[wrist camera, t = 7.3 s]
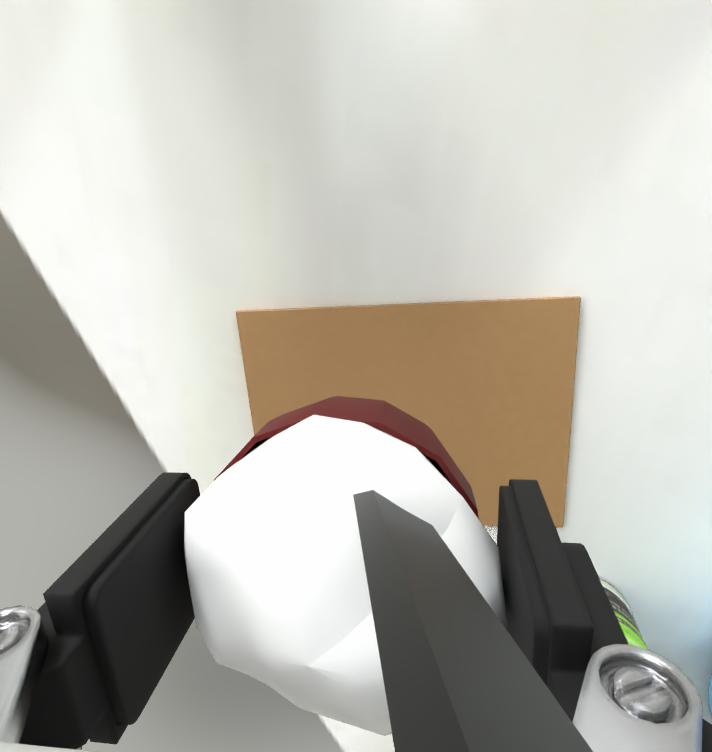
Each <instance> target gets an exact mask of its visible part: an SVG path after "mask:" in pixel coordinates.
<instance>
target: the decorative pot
mask: <svg viewBox="0 0 712 752" xmlns="http://www.w3.org/2000/svg"><path fill="white" fill-rule="evenodd" d="M708 705H709V710H710V714H711V718H712V675H711V678H710V684H709V694H708Z"/></svg>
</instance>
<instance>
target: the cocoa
mask: <svg viewBox="0 0 712 752" xmlns="http://www.w3.org/2000/svg"><path fill="white" fill-rule="evenodd" d="M184 554H185V561H186V568H187V575H188V581H189V587H190V593H191V598H192V604H193V610H194V615H195V621H196V627H197V629H198V631H199V632H200V634H201V636H202V638H203V639H204V641H205V643H206V645H207V647H208V649H209V650H210V652H211V654H212V656H213V657H214V659H215V661H216V663H217V664H220V665H223V666H226V667H229V668H232V669H234V670H237V671H240V672H243V673H245V674H247V675H249V676H251V677H253V678H255V679H257V680H259V681H261V682H263V683H265V684H267V685H268V686H270V687H271V688H273V689H274V690H275V691H277V692H278V693H279V694H281V695H282V696H284V697H285V698H286V699H288V700H289V701H291V702H292V703H293V704H295V705H296V706H297V707H299V708H301V709H304V710H307V711H310V712H313V713H316V714H319V715H322V716H325V717H328V718H332V719H335V720H338V721H341V722H344V723H347V724H350V725H353V726H356V727H359V728H362V729H365V730H369V731H372V732H375V733H378V734H381V735H384V736H386V735H389V734H391V733H392V735H393V741H394V747H395V752H593V751H592V749H591V748H590V747H589V745H588V744H587V742H586V741H585V739H584V738H583V737H582V735H581V734H580V732H579V731H578V730H577V728H576V727H575V725H574V724H573V723H572V721H571V720H570V718H569V717H568V716H567V714H566V713H565V711H564V710H563V708H562V707H561V706H560V704H559V703H558V701H557V700H556V699H555V697H554V696H553V694H552V693H551V692H550V690H549V689H548V687H547V686H546V685H545V683H544V682H543V680H542V679H541V677H540V676H539V675H538V673H537V672H536V670H535V669H534V668H533V666H532V665H531V663H530V662H529V661H528V659H527V658H526V656H525V655H524V654H523V652H522V651H521V649H520V648H519V646H518V645H517V644H516V642H515V641H514V639H513V638H512V637H511V635H510V634H509V632H508V631H507V630H506V628H505V627H506V626H507V617H506V608H505V600H504V591H503V583H502V574H501V566H500V557H499V549H498V546H497V545H496V543H495V542H494V540H493V539H492V538H491V536H490V535H489V533H488V532H487V531H486V529H485V528H484V526H483V525H482V523H481V522H480V521H479V517H478V509H477V506H476V502H475V498H474V495H473V491H472V488H471V485H470V484H469V482H468V481H467V479H466V478H465V476H464V475H463V473H462V472H461V471H460V469H459V468H458V466H457V465H456V463H455V462H454V461H453V459H452V458H451V456H450V455H449V453H448V452H447V451H446V449H445V448H444V446H443V445H442V443H441V442H440V441H439V439H438V438H437V436H436V435H435V433H434V432H433V431H432V429H431V428H429V427H428V426H427V425H426V424H425V423H423V422H421V421H419V420H418V419H416V418H414V417H412V416H411V415H409V414H407V413H405V412H404V411H402V410H400V409H398V408H397V407H395V406H393V405H391V404H390V403H388V402H386V401H384V400H375V399H364V398H354V397H343V396H334V397H330V398H327V399H324V400H322V401H319V402H316V403H313V404H311V405H308V406H305V407H302V408H299V409H297V410H294V411H291V412H288V413H286V414H283V415H281V416H278V417H276V418H274V419H272V420H270V421H269V422H268V423H267V424H265V425H264V426H263V427H262V428H261V429H260V430H259V432H258V433H257V434H256V435H255V436H254V437H253V438H252V439H251V440H250V441H249V442H248V443H247V445H246V446H245V447H244V448H243V449H242V450H241V451H240V452H239V453H238V454H237V455H236V457H235V458H234V459H233V460H232V461H231V462H230V463H229V464H228V465H227V466H226V467H225V469H224V470H223V471H222V472H221V473H220V474H219V475H218V476H217V477H216V478H215V480H214V482H213V483H212V484H211V485H210V486H209V487H208V488H207V489H206V490H205V491H204V492H203V494H202V495H201V496H200V497H199V498H198V499H197V500H196V501H195V502H194V503H193V504H192V505H191V506H190V507H189V508H188V509H187V510H186V511H185V521H184Z"/></svg>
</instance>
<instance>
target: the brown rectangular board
mask: <svg viewBox="0 0 712 752" xmlns="http://www.w3.org/2000/svg"><path fill="white" fill-rule="evenodd" d="M580 299H581V298H580V297H579V296H578V297H554V298H530V299H507V300H483V301H460V302H436V303H413V304H389V305H366V306H342V307H319V308H295V309H272V310H248V311H237V312H236V316H237V323H238V329H239V336H240V343H241V349H242V356H243V363H244V369H245V376H246V382H247V389H248V396H249V402H250V409H251V416H252V422H253V429H254V436H255V435H256V434H257V433H258V432H259V430H260V429H261V428H262V427H263V426H264V425H265V424H267V423H268V422H269V421H270V420H272V419H274V418H276V417H278V416H281V415H283V414H286V413H288V412H291V411H294V410H297V409H299V408H302V407H305V406H308V405H311V404H313V403H316V402H319V401H322V400H324V399H327V398H330V397H334V396H343V397H354V398H364V399H375V400H384V401H386V402H388V403H390V404H391V405H393V406H395V407H397V408H398V409H400V410H402V411H404V412H405V413H407V414H409V415H411V416H412V417H414V418H416V419H418V420H419V421H421V422H423V423H425V424H426V425H427V426H428V427H429V428H431V429H432V431H433V432H434V433H435V435H436V436H437V438H438V439H439V441H440V442H441V443H442V445H443V446H444V448H445V449H446V451H447V452H448V453H449V455H450V456H451V458H452V459H453V461H454V462H455V463H456V465H457V466H458V468H459V469H460V471H461V472H462V473H463V475H464V476H465V478H466V479H467V481H468V482H469V484H470V485H471V488H472V491H473V495H474V498H475V502H476V506H477V509H478V517H479V521H480V522H481V523H482V525H493V526H498V507H499V488H500V486H508V485H509V480H510V479H525V480H537V481H538V484H539V486H540V489H541V491H542V494H543V497H544V499H545V502H546V504H547V507H548V510H549V512H550V515H551V517H552V520H553V522H554V525H555V527H563V524H564V511H565V498H566V484H567V471H568V458H569V445H570V432H571V418H572V405H573V392H574V379H575V365H576V352H577V339H578V326H579V312H580Z"/></svg>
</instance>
